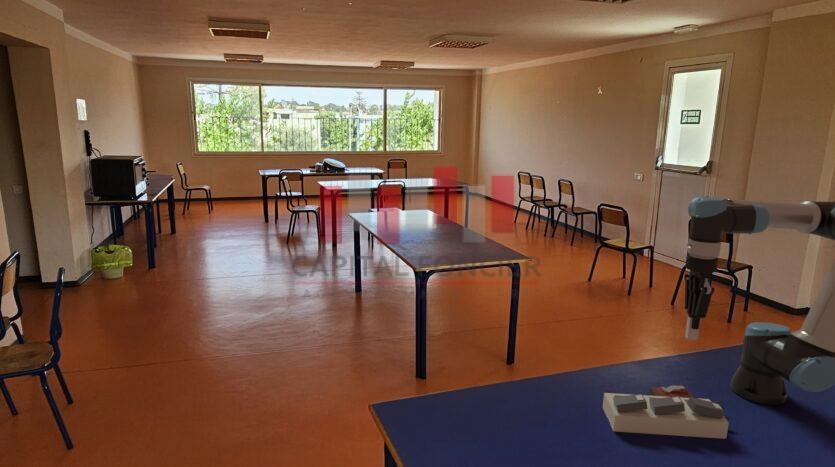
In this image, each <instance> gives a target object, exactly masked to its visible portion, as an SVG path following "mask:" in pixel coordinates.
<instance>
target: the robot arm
mask: <svg viewBox="0 0 835 467" xmlns="http://www.w3.org/2000/svg"><path fill="white" fill-rule="evenodd" d="M687 212H688V215H689V217H690V226H689V235H688V242H687V243H686V247H687V253H688V254H687V255H686V258H685V265H684V267H685V268H686V269H687V270H688V271H689V273H684V281H685V282H684V284H685V285H684V292H685V293H684V310H686V314H687V321H686V327H685V335H684V337H685V339H687V340H697V341H698V338H699V332H700V324H701V319H706V317H707V313H708V310H709V306H710V303H711V299H712V295H713V294H714V292H715V287H714V286H712V287H711V285H710V284H711V274H713V273H716V272H717V271H718V266H719V258H718V257H720V252H721V246H722V238H723V235H724V234H725V235H726V234H732V235H733V234H746V235H747V234H748V235H751V234H759V233H763V232H764V231H766V229H769V228H771V229H784V230H785V229H787V230H796V232H799V233H801V234H809V235H814V236H818V237H821V238H825V239H829V240H832V241H835V201H813V200H806V201H805V200H804V201H801V202H800V203H790V202H789V203H788V202H775V201H763V200H747V199H746V200H745V199H735V198H731V199H730V198H721V197H714V196H708V195H707V196H705V195H698V196H696V197H694V198H693V199H692V200H691V201H690V202H689V204H688V208H687ZM833 247H834V248H835V244H834V245H833ZM828 270H829V271H827V272H828V273H827V274H826V276H825V279H824V280H823V282H822V284H821V286H820V289H819V291H818V292H817V294H816V297H815V299H814V301H813V303H812V304H811V307H810V309H809V311H808V313H807V315H806V316H805V318H804V321H803V323H802V324H801V327H800V329H798V330H796V331H792V329H791V328H790V327H788V326H785V325H782V324H780V323H778V324H777V323H771V322H762V321H761V322H760V321H759V322H751V323H749V324H747V326H746V328H745V332H744V335H743V343H742V350H741V358H740V364H739V366H738V368H737V370H736V371H735V373H734V374H733V376H732V377H731V379H730V385H729V387H730V389H731V391H732V392H734V393H735V394H736V395H738V396H739V397H741V398H743V399H745V400H748V401H751V402H753V403H758V404H760V405H761V404H762V405H768V406H778V405H783V404H784V403H786V402H787V398H788V391H787V387H786V381H788V382H790V383H791V384H792V385H794V387H798V388H800V389H802V390H804V391H806V392H810V393H817V392H818V393H819V392H823V391H824V390H828V389H829V388H831V387H832V386H834V385H835V259H834V261H833V262H832V264H831V266H830V267H829V269H828ZM785 380H786V381H785Z"/></svg>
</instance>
